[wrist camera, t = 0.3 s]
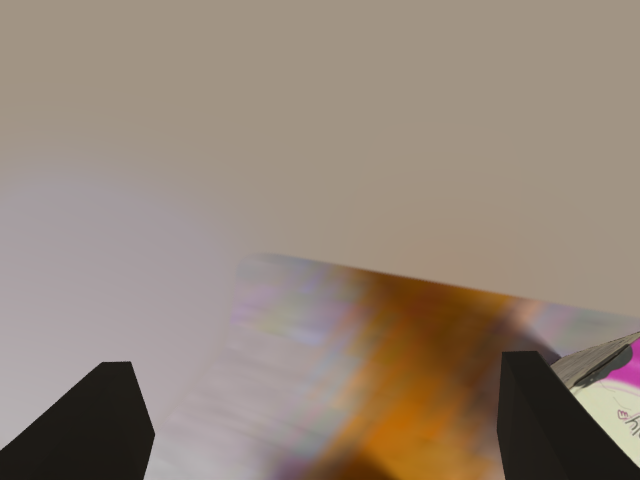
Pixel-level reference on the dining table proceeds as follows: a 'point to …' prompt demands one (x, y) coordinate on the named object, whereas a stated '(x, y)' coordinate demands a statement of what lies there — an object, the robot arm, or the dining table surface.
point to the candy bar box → (608, 388)
